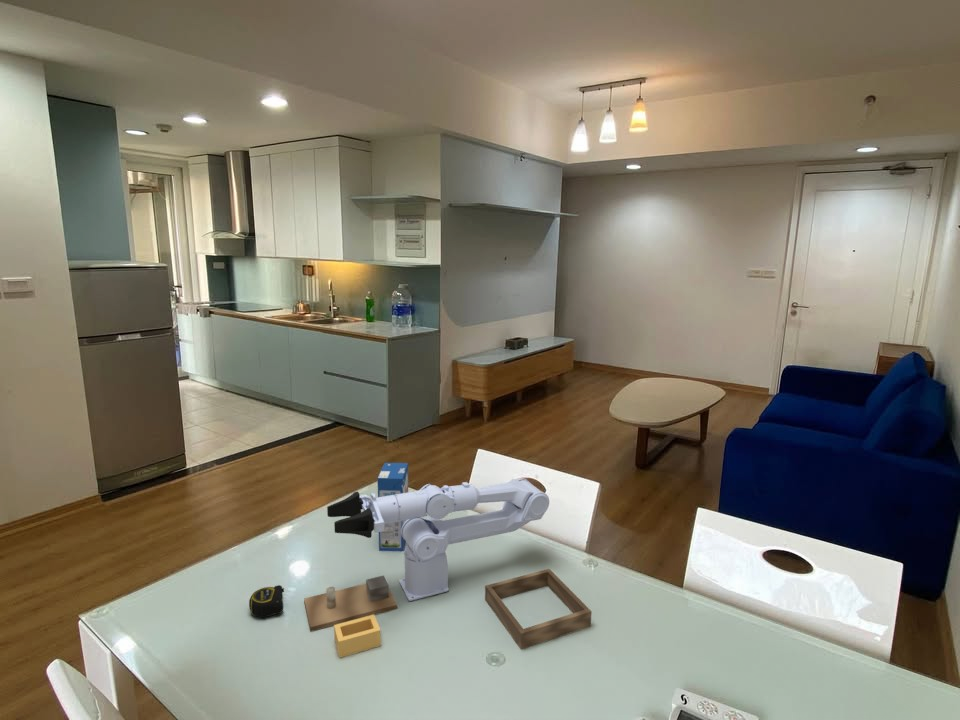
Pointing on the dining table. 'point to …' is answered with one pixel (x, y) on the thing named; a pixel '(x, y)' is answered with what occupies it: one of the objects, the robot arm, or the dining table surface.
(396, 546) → the milk carton
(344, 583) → the dining table surface
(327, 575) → the dining table surface
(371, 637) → the link
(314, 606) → the board
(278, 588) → the tape measure
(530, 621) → the dining table surface
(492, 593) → the frame
